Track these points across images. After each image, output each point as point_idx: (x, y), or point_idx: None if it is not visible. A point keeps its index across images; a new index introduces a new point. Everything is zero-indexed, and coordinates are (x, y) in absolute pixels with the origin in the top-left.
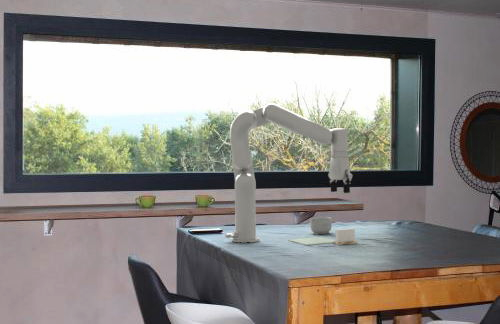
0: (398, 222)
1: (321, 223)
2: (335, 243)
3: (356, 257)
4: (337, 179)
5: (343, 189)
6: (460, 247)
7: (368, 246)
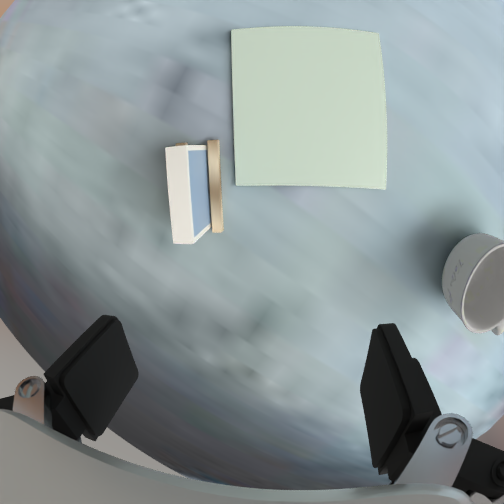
0: None
1: (465, 262)
2: (206, 145)
3: (21, 105)
4: (75, 445)
5: (94, 336)
6: None
7: (118, 223)
